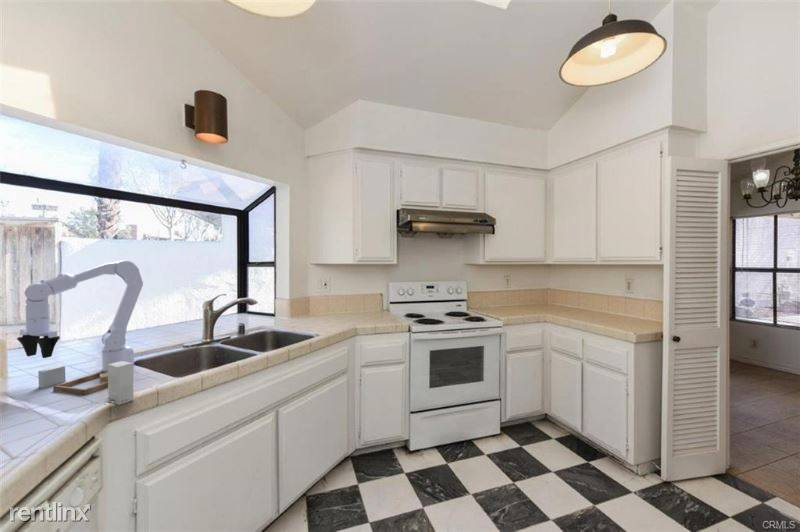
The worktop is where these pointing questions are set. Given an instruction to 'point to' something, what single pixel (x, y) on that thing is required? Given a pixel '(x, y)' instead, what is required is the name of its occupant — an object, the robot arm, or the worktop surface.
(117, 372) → the skincare box
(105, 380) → the offcut short
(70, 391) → the frame
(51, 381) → the pale grey rectangular prism
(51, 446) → the worktop surface
